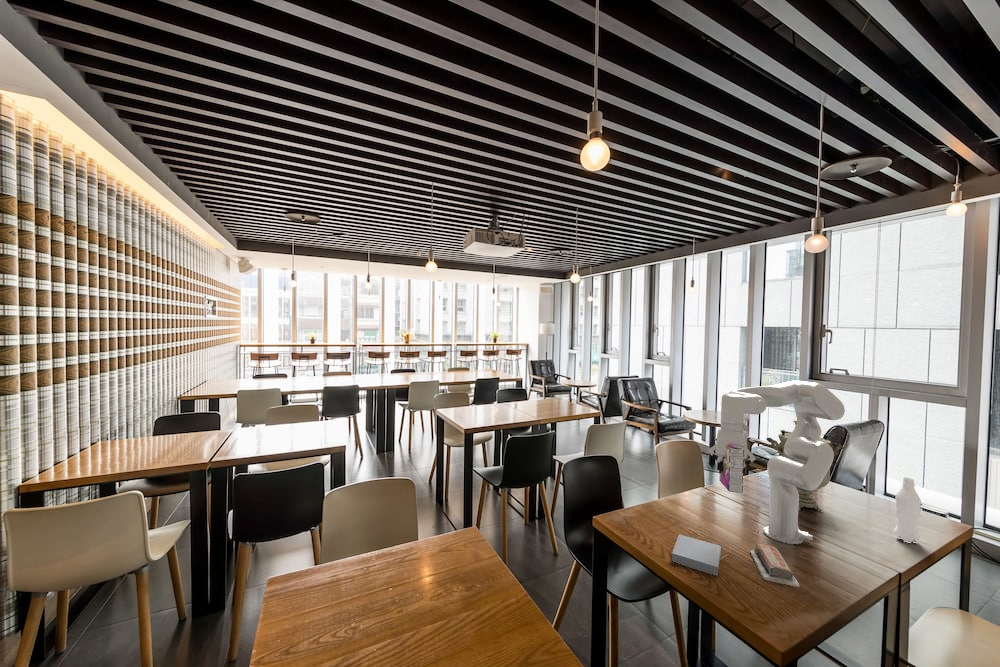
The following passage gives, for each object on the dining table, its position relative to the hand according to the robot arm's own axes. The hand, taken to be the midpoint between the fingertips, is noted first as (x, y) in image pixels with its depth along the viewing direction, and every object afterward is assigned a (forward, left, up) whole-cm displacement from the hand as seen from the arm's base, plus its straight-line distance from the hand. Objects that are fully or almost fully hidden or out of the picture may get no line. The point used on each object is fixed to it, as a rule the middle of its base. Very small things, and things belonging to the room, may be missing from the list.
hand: (730, 473), depth 148 cm
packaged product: (-13, +7, -28) cm, 32 cm away
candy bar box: (0, 0, -5) cm, 5 cm away
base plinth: (+9, +16, -27) cm, 33 cm away
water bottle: (-60, -49, -28) cm, 82 cm away
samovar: (-28, -62, -28) cm, 73 cm away
